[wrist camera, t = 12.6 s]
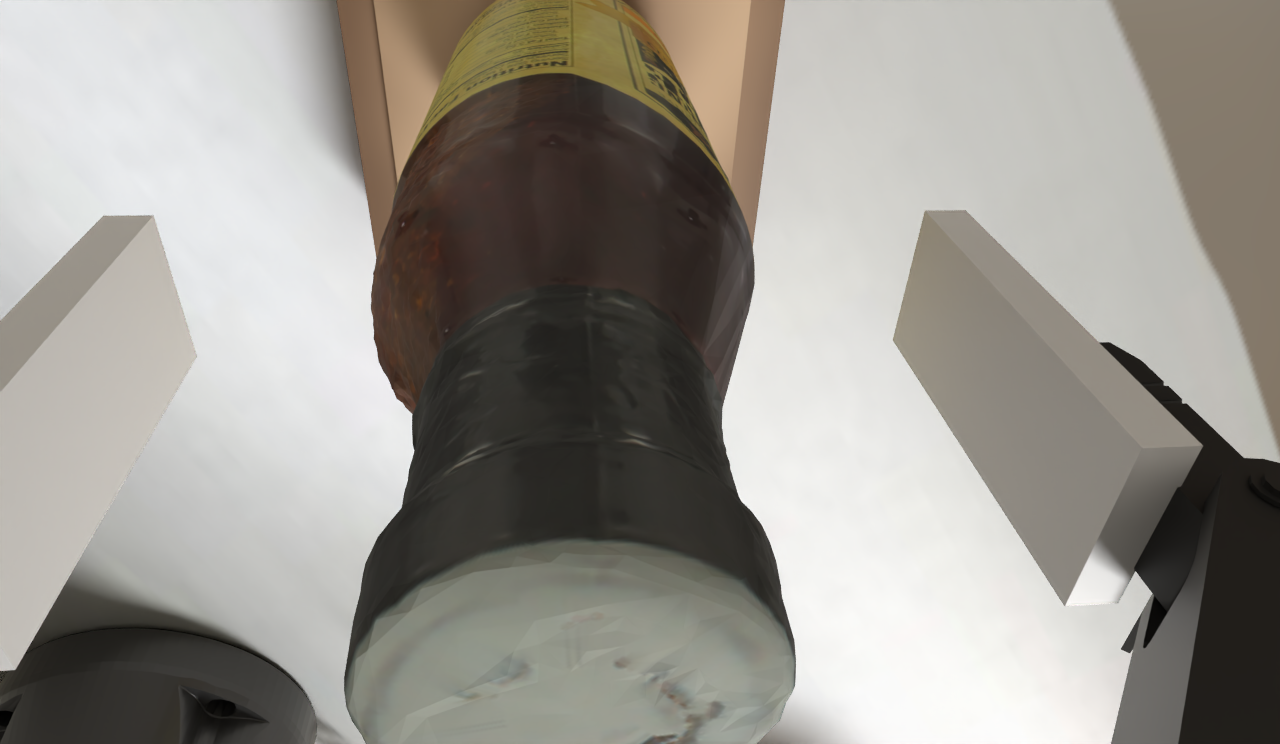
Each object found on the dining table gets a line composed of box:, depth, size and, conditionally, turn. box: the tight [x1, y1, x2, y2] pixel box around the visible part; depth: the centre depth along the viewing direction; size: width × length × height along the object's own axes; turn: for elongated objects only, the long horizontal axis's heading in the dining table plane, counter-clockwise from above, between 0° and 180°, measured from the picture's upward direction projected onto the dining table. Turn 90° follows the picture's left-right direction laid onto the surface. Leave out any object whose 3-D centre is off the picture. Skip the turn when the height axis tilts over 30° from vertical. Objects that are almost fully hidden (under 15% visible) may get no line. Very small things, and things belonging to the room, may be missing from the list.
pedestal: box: [337, 0, 785, 258], centre depth 25 cm, size 12×12×3 cm
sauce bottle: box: [344, 0, 796, 744], centre depth 16 cm, size 7×6×20 cm
